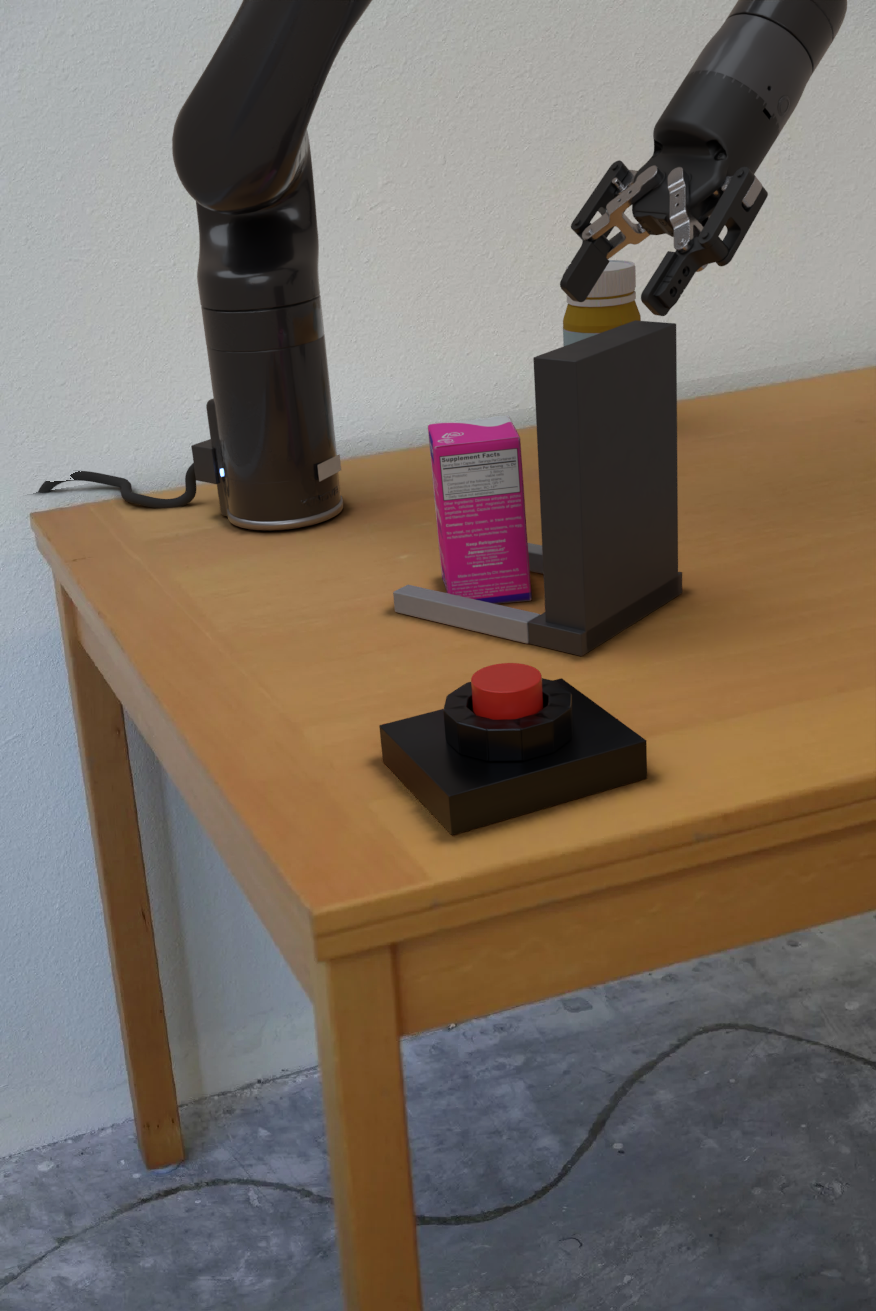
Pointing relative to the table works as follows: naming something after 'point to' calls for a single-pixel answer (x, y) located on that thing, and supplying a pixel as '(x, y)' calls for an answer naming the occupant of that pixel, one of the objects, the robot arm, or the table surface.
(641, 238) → the robot arm
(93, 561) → the table surface
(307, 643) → the table surface
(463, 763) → the control block
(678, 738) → the table surface
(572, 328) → the bottle
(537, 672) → the red button
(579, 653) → the upright panel stand
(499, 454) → the supplement box
